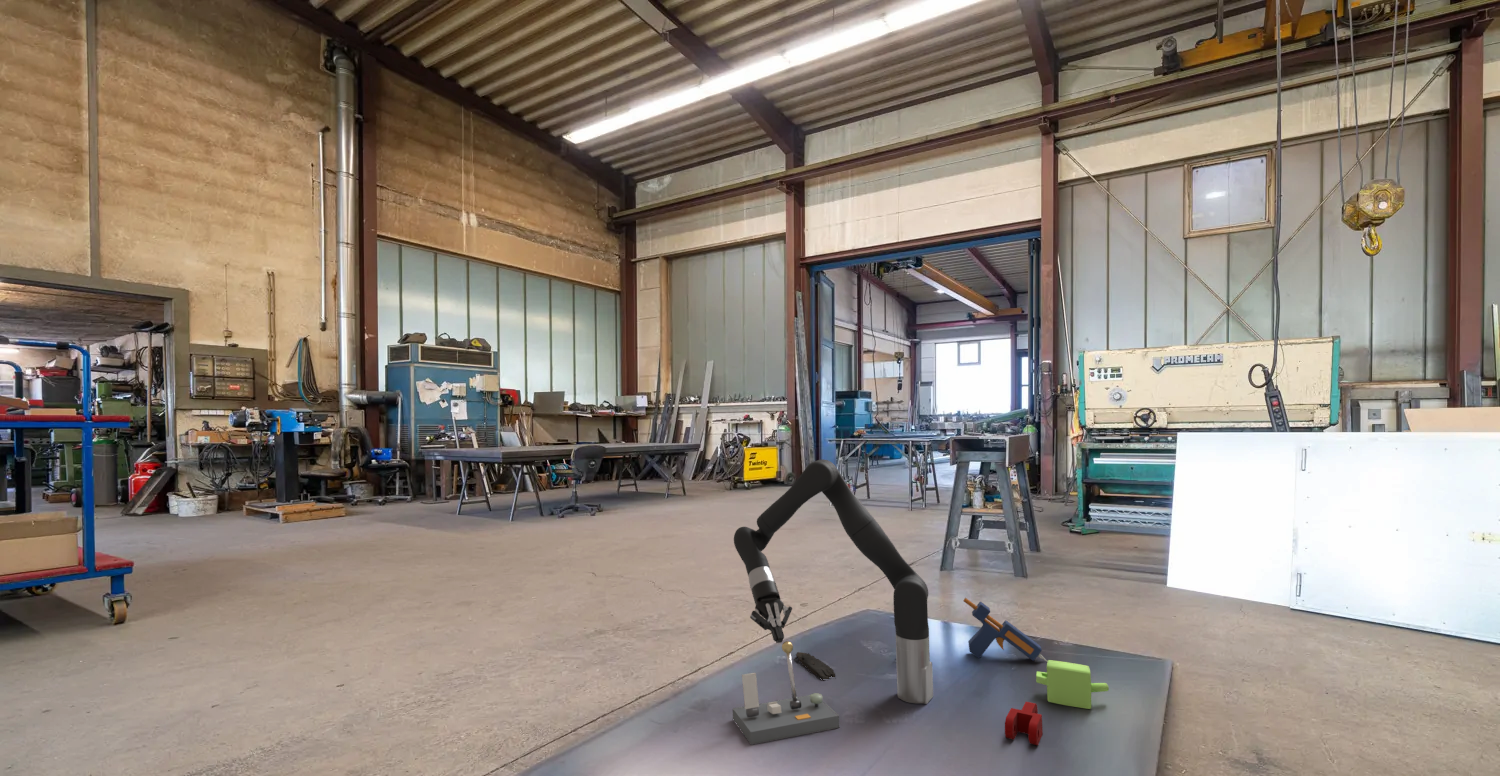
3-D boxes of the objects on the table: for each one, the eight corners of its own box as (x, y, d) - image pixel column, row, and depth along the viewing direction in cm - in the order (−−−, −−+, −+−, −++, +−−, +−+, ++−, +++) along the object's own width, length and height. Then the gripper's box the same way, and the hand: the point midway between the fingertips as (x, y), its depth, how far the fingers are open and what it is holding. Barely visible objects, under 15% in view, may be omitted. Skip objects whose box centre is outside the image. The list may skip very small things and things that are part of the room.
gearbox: (1108, 700, 177) (1107, 665, 178) (1110, 713, 168) (1109, 676, 169) (1037, 688, 185) (1036, 655, 186) (1036, 700, 176) (1035, 665, 177)
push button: (808, 704, 169) (808, 694, 169) (819, 702, 170) (819, 692, 170) (813, 709, 166) (813, 699, 166) (824, 707, 167) (824, 697, 167)
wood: (844, 679, 194) (844, 669, 195) (822, 683, 192) (822, 672, 192) (811, 655, 215) (811, 646, 215) (791, 658, 212) (791, 649, 213)
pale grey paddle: (744, 717, 162) (741, 674, 165) (758, 714, 163) (754, 672, 166) (747, 718, 160) (743, 675, 163) (760, 715, 162) (756, 673, 165)
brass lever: (788, 709, 167) (779, 642, 173) (799, 707, 168) (789, 640, 174) (793, 709, 164) (783, 641, 170) (803, 708, 165) (793, 640, 171)
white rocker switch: (767, 710, 165) (767, 702, 166) (776, 709, 166) (775, 701, 166) (772, 714, 162) (772, 706, 162) (781, 712, 163) (780, 704, 163)
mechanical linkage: (1036, 749, 151) (1036, 727, 151) (1005, 741, 155) (1004, 720, 155) (1048, 722, 164) (1047, 702, 164) (1018, 716, 168) (1017, 696, 168)
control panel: (732, 720, 167) (732, 707, 168) (815, 705, 176) (815, 693, 176) (751, 744, 154) (750, 731, 154) (839, 727, 162) (839, 714, 163)
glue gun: (1025, 693, 205) (1053, 658, 203) (943, 633, 211) (970, 597, 209) (1021, 685, 211) (1048, 650, 209) (941, 626, 217) (968, 592, 215)
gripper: (745, 581, 184) (761, 637, 172) (787, 577, 189) (805, 631, 176) (739, 595, 189) (754, 651, 176) (780, 591, 193) (798, 645, 181)
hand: (780, 641), depth 176 cm, fingers closed
